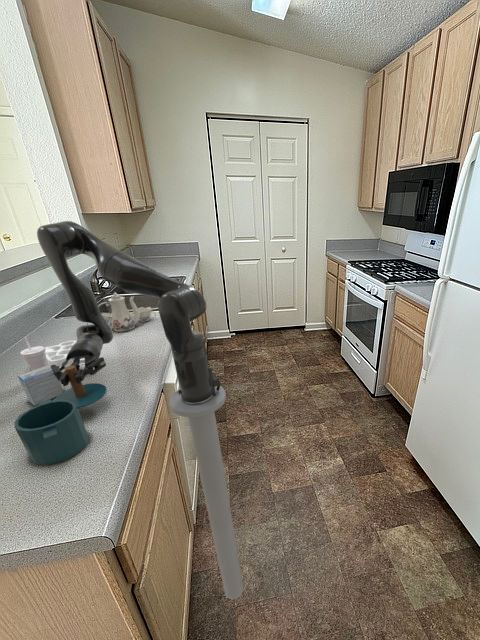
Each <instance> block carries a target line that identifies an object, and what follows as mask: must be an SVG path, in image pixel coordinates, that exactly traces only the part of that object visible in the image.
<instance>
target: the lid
mask: <svg viewBox="0 0 480 640" xmlns="http://www.w3.org/2000/svg"><path fill="white" fill-rule="evenodd" d="M65 371H66V373H67V376H68V378H69V383H70V386H71V388H69V389H66V390H64V392H63V393H61V394H60V395H58V396H57V397H55V398H54V399H53V401H57V400H70V401H72V402H74V403H76V406H77V408H78V409H83V408H86V407H88V406H90V405H93V404H95V403H97V402H99V401H100V400H101V399H103V398H104V397H105V396H106V395H107V392H108V388H107V387H106V385H104V384H102V383H96V382H95V383H94V382H93V383H84V384H83V381H81V383H78V384H77V382H76V379H75V375H76V373H77V369H76V366H74V365H72V366H68V367H66V368H65Z"/></svg>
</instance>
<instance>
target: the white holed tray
mask: <svg viewBox="0 0 480 640" xmlns="http://www.w3.org/2000/svg"><path fill="white" fill-rule="evenodd" d="M76 342H77V340H66V341H63V342H60V343H58V344H55V345H49V346H46V347H45V349H46V351H45V354H46V358H47V362H48V365H49V366H51V365H56V366H57V365H58V366H60V365H62V363H63V362H65V361H66V357H67V354H68V353H69V351H70V350H71V348H72V346H73V345H74V344H75V343H76Z"/></svg>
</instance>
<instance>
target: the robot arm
mask: <svg viewBox="0 0 480 640" xmlns="http://www.w3.org/2000/svg"><path fill="white" fill-rule="evenodd" d="M36 235H37V236H36V237H37V240H38V244H39V246H40V248H41V250H42V252H43V254H44V255H45V257H46V259H47V261H48V262H49V265H50V267H51V268H52V270H53V272H54V274H55V275H56V277H57V279H58V280H59V282H60V284H61V286H62V288H63V289H64V291H65V293H66V295H67V297H68V300H69V303H70V305H71V308H72V311H73V313H74V316H75V318H76V320H77V321H79V322H82V323H87V324H88V323H89V324H88V325H87V324H83V325H80V326H78V327H77V328H76V331H75V332H76V338H77V340H76V341H77V342H76V343H75V344H74V345H73V346H72V348H71V350H70V351H69V353H68V354H67V357H66V361H65V362H63V363H62V365H60V366H58V365H57V366H56V365H51V366H50V367H51V369H52V372H53V374H54V375H55V377H56V378H57V379H58V380H60V383H61V385H63V386H62V387H65V386H67V387H68V385H69V383H70V381H69V378H68V376H67V373H66V371H65V368H66V367H68V366H72V365H74V366H76V369H77V373H76V375H75V379H76V382H77V384H78V383H81V382H83V381H84V380H85V378H86V377H88V375H89V376H94V375H95V374H97V373H98V372H99V371H101V370H102V369H103V368H105V367H106V366H107V364H106V361H105V357H103V356H101V352H102V349H103V347H104V345H107V344H110V343H111V342H112V340H113V339H114V331H113V328H112V327H110V326H109V323H107V322H106V321H105V319H104V318H103V316H102V314H101V313H102V312H101V311H100V307H98V305H99V304H98V302H97V299H96V296H95V294H94V292H93V291H92V289H91V288H90V286H88V285H87V284H86V283H85V282H84V281H83V280H81V279H80V278H79V277H78V276H77V275H76V274H75V273H74V272H73V271H72V270H71V268H70V266H69V263H68V260H67V258H71V257H73V256H77V255H85V256H88V257H90V258H92V259H93V260H94V262H95V265H96V268H97V271H98V273H99V274H100V276H101V277H102V278H103V279H104V280H105V281H107V282H108V283H110V284H111V285H113V286H115V287H116V288H119V289H121V290H123V291H126V292H128V293H132V294H137V295H143V296H147V297H154V298H157V299H158V301H157V308H158V309H157V310H158V314H159V317H160V321H161V324H162V328H163V332H164V335H165V338H166V340H167V341H168V343H169V345H170V350H171V354H172V358H173V363H174V368H175V372H176V377H177V383H178V387H179V389H178V390H179V392H178V393H179V395H180V393H181V398H182V401H183V403H185V404H188V405H199V404H203V403H206V402H208V401H209V400H211V399H212V397H214V396H216V392H215V387H216V386H217V388H216V390H218V391H219V389H220V386H222V385H221V384H222V383H221V381H220V379H219V378H218V377H217V376H216V375H215V374H214V373H213V369H212V367H211V366H210V363H209V358H208V352H207V345H206V340H205V335H204V333H202V332H201V331H198V330H192V326H191V322H193V321H194V320H197V319H199V318H200V317H201V316H203V314H205V312H206V310H207V301H206V299H205V297H204V295H203V294H202V293H201V291H199V290H198V289H197V288H195V287H194V286H192V285H189V284H187V283H185V282H182V281H180V280H177V279H175V278H172V277H170V276H168V275H166V274H163V273H162V272H160V271H158V270H156V269H155V268H153V267H150V266H149V265H147V264H145V263H144V262H141V261H140V260H138V259H136V258H135V257H133V256H131V255H129V254H127V253H125V252H124V251H122V250H119V249H117V248H116V247H114V246H112V245H111V244H109V243H108V242H105V241H104V240H102V239H101V238H99V237H98V236H97V235H95V234H94V233H92V232H91V231H89V230H88V229H86V228H85V227H83V226H82V225H80V224H79V223H76V222H74V221H71V220H64V221H57V222H53V223H48V224H43V225H40V226H39V227H38V228H37V230H36Z"/></svg>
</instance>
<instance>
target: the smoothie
mask: <svg viewBox="0 0 480 640" xmlns="http://www.w3.org/2000/svg"><path fill="white" fill-rule="evenodd" d="M24 341H25V344H26V345H27V347H26V348H25V349H22V350H21V351H20V357H22V358H23V359H24V361H25V362H26V364H27V365H28V368H29V369H30V370H31V371H33V370H36V369H39V368H42V367H45V366H47V365H48V362H47V358H46V354H45V351H46V349H45V348H46V347H45V346H42V345H37V346H32V347H31V344H30V342H29V341H28V337H27V336H25V337H24Z"/></svg>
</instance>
